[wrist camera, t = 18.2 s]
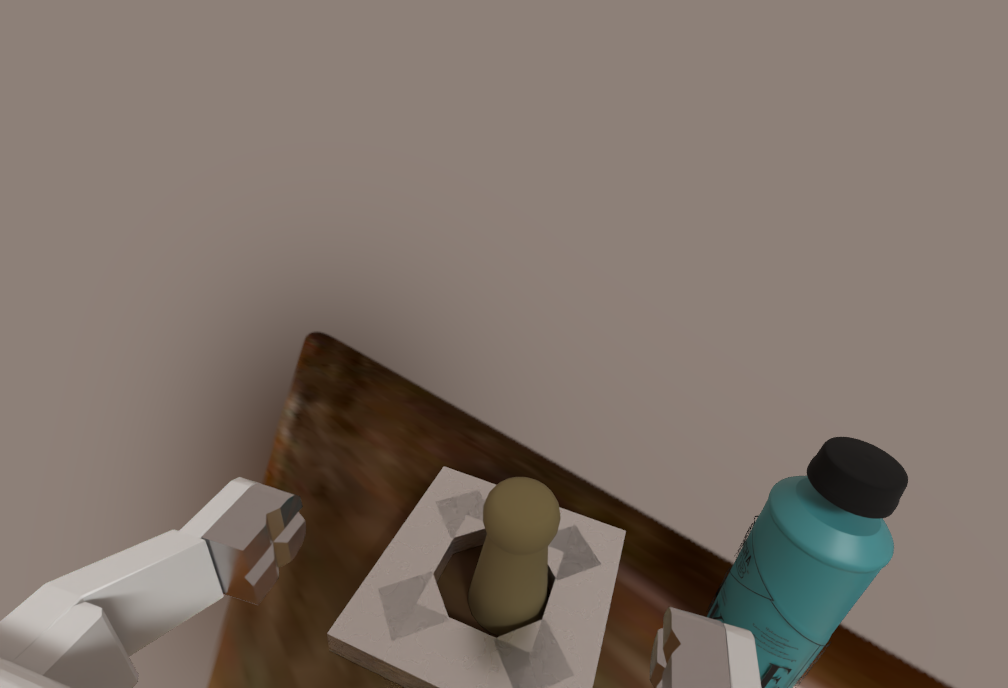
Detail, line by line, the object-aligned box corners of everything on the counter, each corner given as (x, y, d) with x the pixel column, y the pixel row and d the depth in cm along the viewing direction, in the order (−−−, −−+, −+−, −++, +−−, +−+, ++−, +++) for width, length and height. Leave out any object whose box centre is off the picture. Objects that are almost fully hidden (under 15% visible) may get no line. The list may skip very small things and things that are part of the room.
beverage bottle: (774, 632, 39) (905, 428, 29) (800, 731, 33) (974, 521, 23) (686, 611, 40) (783, 405, 29) (696, 704, 34) (820, 490, 24)
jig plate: (620, 546, 44) (625, 531, 43) (572, 769, 30) (578, 754, 29) (443, 481, 49) (443, 466, 48) (329, 650, 35) (326, 633, 34)
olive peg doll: (463, 567, 41) (472, 466, 35) (536, 559, 42) (556, 460, 37) (474, 643, 36) (486, 539, 30) (556, 631, 37) (582, 529, 32)
